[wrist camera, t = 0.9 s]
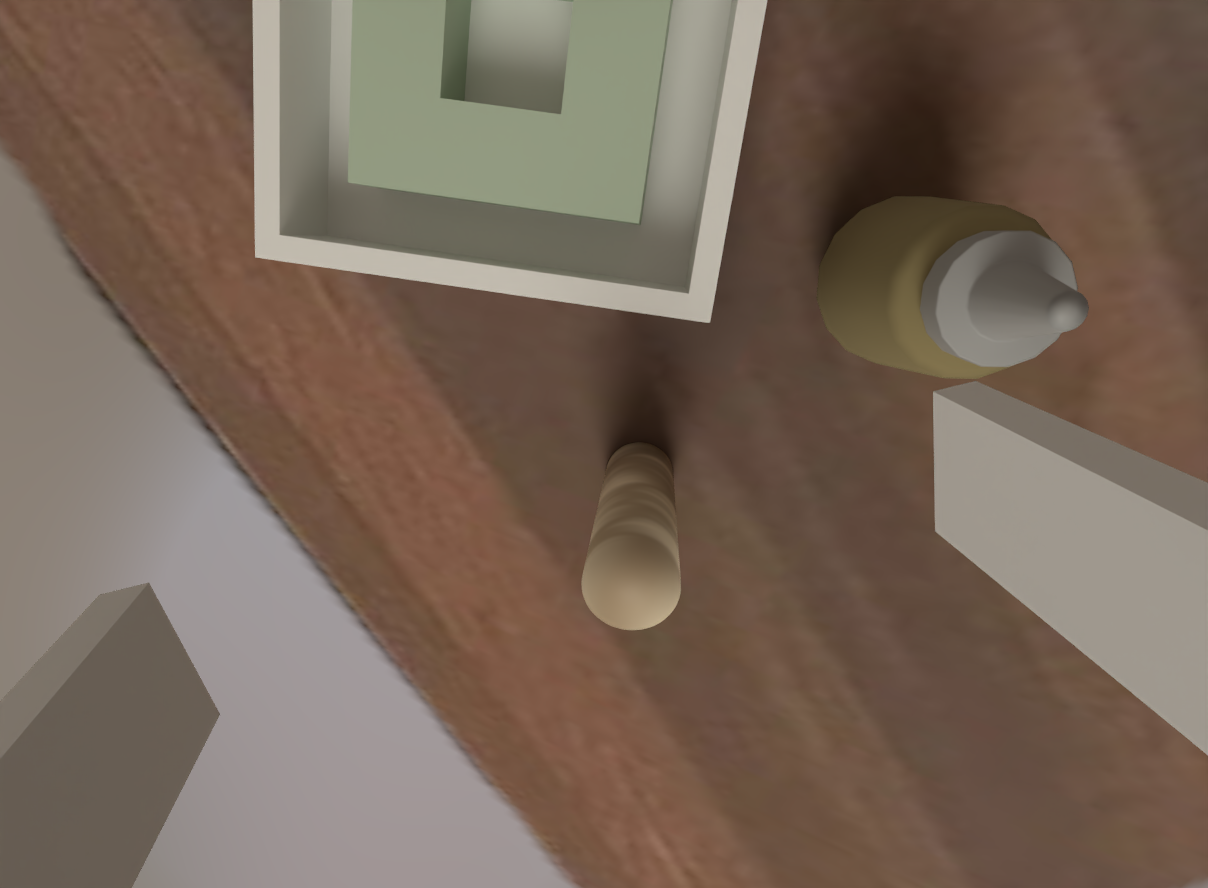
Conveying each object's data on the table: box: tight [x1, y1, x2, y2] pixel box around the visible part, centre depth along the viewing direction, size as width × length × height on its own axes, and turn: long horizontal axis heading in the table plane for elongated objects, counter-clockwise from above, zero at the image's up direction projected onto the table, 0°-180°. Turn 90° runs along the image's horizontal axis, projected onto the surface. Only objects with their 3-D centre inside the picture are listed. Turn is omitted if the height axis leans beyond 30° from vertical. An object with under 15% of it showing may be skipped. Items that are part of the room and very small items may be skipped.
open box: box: [253, 0, 767, 323], centre depth 33 cm, size 22×22×6 cm
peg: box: [582, 442, 681, 630], centre depth 35 cm, size 4×4×14 cm
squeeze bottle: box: [817, 196, 1089, 379], centre depth 29 cm, size 8×8×18 cm
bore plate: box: [348, 0, 673, 225], centre depth 33 cm, size 14×14×4 cm
